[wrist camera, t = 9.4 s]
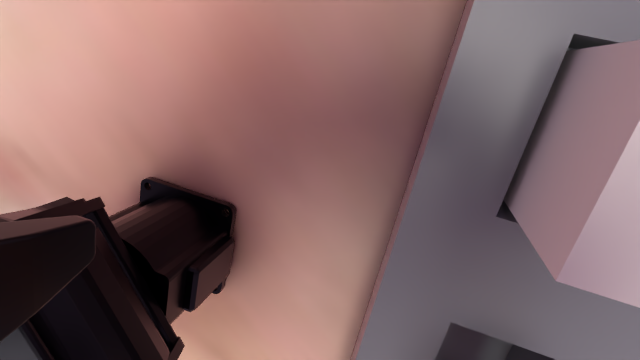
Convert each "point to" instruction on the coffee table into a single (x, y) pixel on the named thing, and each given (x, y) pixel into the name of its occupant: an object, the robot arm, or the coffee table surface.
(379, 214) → the coffee table surface
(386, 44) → the coffee table surface
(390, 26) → the coffee table surface
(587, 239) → the pale pink plug
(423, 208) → the header
